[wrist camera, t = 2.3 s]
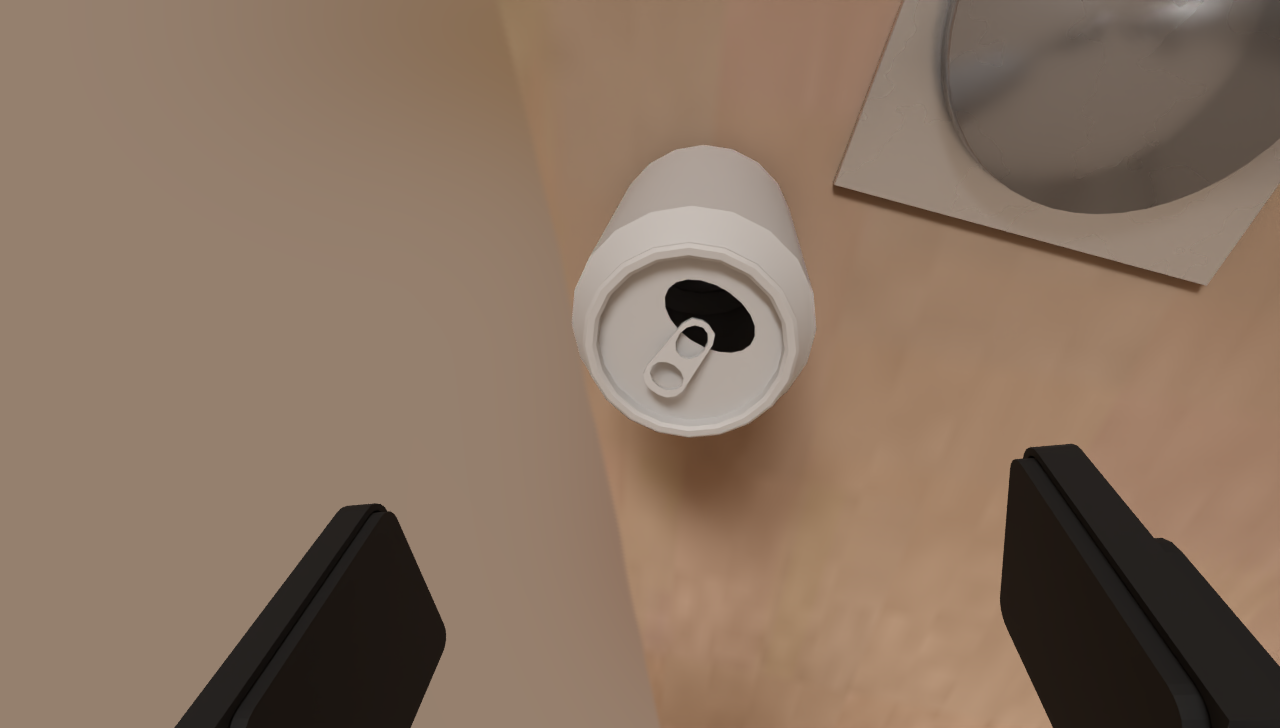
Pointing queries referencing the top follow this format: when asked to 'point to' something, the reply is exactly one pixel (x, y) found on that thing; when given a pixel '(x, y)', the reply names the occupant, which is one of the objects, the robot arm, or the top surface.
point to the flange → (1080, 123)
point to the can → (696, 296)
